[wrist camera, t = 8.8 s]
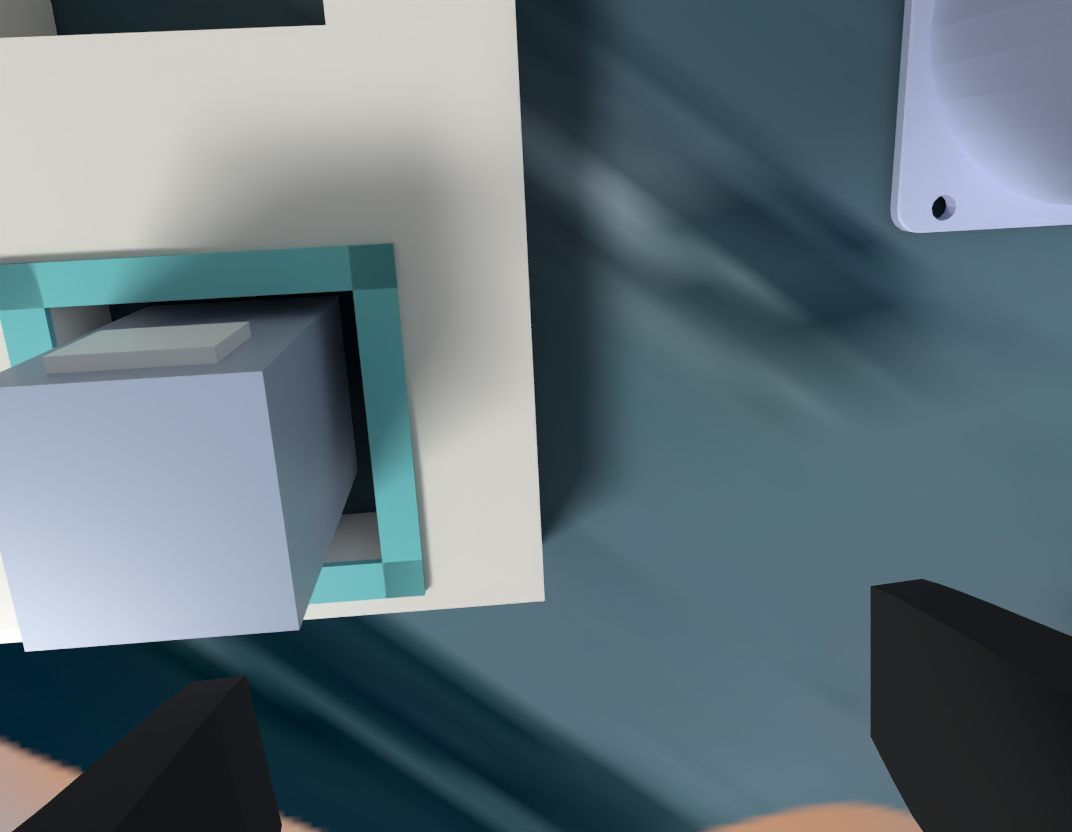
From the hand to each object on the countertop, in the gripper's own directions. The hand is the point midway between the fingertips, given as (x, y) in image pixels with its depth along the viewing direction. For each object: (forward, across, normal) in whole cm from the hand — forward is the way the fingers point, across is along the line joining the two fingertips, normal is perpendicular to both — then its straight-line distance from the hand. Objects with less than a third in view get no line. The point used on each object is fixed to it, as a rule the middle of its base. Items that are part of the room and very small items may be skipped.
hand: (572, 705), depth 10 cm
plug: (+10, +6, -2) cm, 12 cm away
